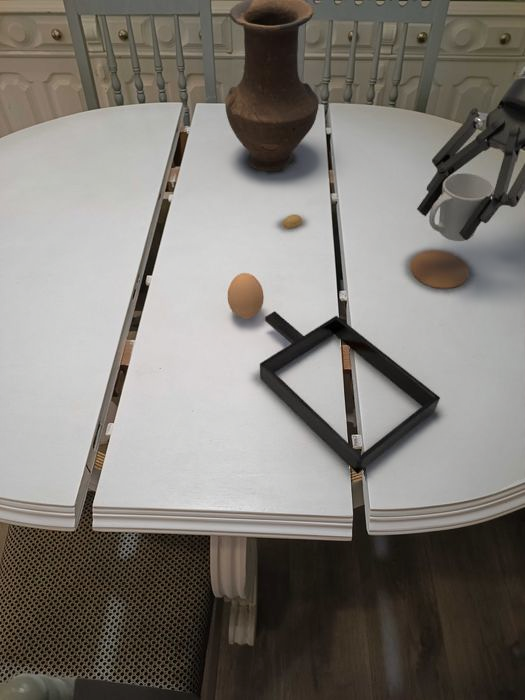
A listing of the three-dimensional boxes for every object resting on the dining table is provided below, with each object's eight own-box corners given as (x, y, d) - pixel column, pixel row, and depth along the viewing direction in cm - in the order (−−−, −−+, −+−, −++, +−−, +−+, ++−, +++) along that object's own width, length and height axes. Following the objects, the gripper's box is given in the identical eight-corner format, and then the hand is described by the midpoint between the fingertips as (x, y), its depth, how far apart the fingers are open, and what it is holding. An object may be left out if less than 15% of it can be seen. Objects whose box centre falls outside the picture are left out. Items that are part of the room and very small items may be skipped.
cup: (489, 237, 87) (505, 191, 81) (439, 255, 85) (451, 209, 78) (459, 214, 92) (471, 168, 86) (411, 230, 89) (420, 184, 83)
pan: (434, 412, 74) (440, 397, 72) (357, 474, 68) (360, 460, 66) (305, 307, 89) (306, 291, 86) (232, 350, 83) (230, 335, 80)
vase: (218, 178, 115) (205, 23, 92) (241, 135, 127) (234, -11, 104) (306, 188, 112) (314, 30, 89) (321, 143, 124) (332, -6, 101)
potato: (304, 224, 104) (305, 216, 102) (286, 230, 102) (286, 222, 101) (297, 217, 105) (298, 209, 104) (280, 223, 104) (280, 215, 103)
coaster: (480, 272, 93) (480, 270, 93) (443, 297, 89) (444, 295, 89) (435, 245, 99) (435, 243, 98) (398, 267, 95) (398, 265, 94)
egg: (239, 298, 90) (236, 259, 84) (269, 308, 89) (269, 269, 82) (223, 320, 87) (218, 282, 81) (254, 331, 85) (253, 292, 79)
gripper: (605, 128, 76) (501, 262, 82) (485, 82, 87) (401, 204, 93) (603, 102, 70) (491, 249, 76) (474, 56, 81) (384, 188, 87)
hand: (441, 224), depth 84 cm, fingers closed on cup, 8 cm apart
